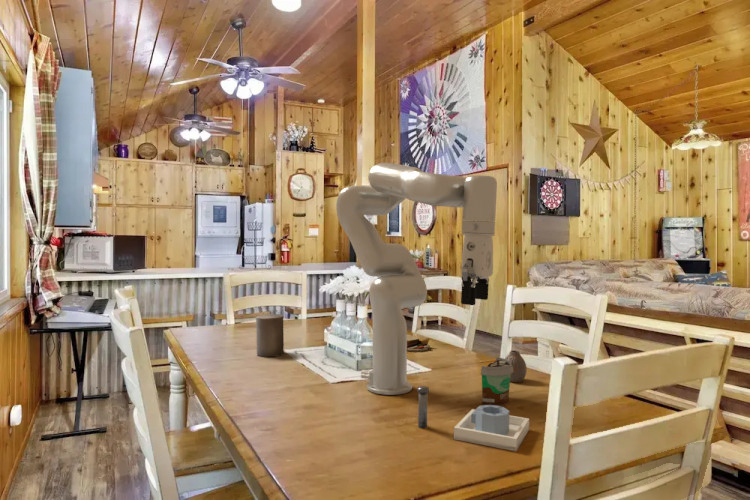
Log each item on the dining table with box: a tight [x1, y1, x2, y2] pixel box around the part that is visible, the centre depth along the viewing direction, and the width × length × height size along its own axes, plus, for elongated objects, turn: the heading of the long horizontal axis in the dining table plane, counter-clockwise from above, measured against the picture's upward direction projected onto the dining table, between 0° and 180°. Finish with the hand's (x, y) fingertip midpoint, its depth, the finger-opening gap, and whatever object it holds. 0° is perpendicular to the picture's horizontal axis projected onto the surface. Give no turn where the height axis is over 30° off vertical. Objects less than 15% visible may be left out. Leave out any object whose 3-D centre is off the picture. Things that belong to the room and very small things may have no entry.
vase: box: [504, 350, 528, 383], centre depth 153 cm, size 7×7×9 cm
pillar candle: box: [255, 313, 285, 358], centre depth 185 cm, size 10×10×15 cm
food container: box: [480, 356, 513, 406], centre depth 134 cm, size 12×6×10 cm, turn 148°
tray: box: [453, 408, 530, 452], centre depth 111 cm, size 13×13×2 cm
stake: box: [416, 385, 430, 429], centre depth 116 cm, size 3×3×9 cm
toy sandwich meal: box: [407, 333, 431, 353], centre depth 196 cm, size 12×14×5 cm
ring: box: [471, 404, 510, 436], centre depth 112 cm, size 7×8×4 cm
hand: (474, 301), depth 121 cm, fingers open, 9 cm apart
